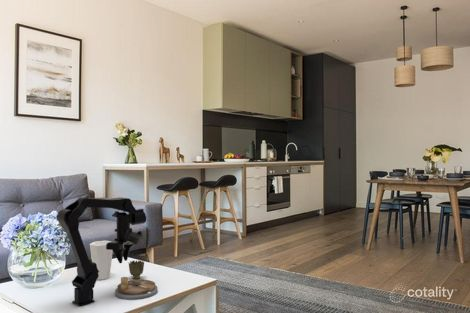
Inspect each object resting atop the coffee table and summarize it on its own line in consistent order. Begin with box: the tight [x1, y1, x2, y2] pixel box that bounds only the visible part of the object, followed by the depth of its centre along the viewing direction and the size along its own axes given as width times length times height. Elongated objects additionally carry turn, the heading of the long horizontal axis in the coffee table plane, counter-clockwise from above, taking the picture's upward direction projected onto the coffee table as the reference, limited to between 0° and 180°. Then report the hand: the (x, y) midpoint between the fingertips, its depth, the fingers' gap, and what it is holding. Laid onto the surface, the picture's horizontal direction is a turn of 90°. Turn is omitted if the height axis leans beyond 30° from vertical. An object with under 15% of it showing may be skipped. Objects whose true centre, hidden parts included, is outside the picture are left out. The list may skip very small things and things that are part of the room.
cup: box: [89, 240, 114, 281], centre depth 198 cm, size 11×10×17 cm
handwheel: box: [116, 276, 156, 295], centre depth 176 cm, size 16×16×6 cm
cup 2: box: [128, 260, 145, 280], centre depth 197 cm, size 8×7×8 cm
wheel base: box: [114, 284, 158, 301], centre depth 176 cm, size 18×18×2 cm
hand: (123, 261), depth 177 cm, fingers open, 4 cm apart
